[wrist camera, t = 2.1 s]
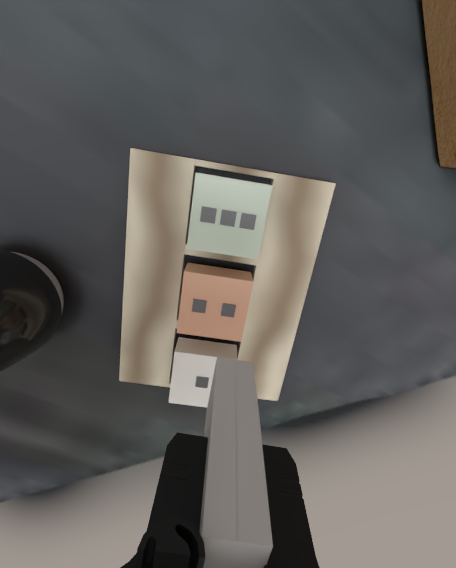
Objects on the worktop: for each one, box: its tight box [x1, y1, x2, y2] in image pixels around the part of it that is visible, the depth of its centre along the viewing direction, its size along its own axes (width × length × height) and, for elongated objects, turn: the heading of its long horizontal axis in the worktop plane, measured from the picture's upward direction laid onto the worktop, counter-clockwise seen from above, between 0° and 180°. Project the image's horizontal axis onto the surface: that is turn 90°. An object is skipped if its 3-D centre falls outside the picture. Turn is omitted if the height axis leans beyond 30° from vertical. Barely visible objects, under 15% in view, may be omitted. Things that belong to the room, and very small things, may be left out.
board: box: [119, 148, 336, 401], centre depth 32 cm, size 18×24×2 cm
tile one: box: [169, 337, 238, 407], centre depth 31 cm, size 6×6×3 cm
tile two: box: [177, 263, 253, 342], centre depth 29 cm, size 6×6×3 cm
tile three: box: [187, 172, 272, 259], centre depth 26 cm, size 6×6×3 cm
